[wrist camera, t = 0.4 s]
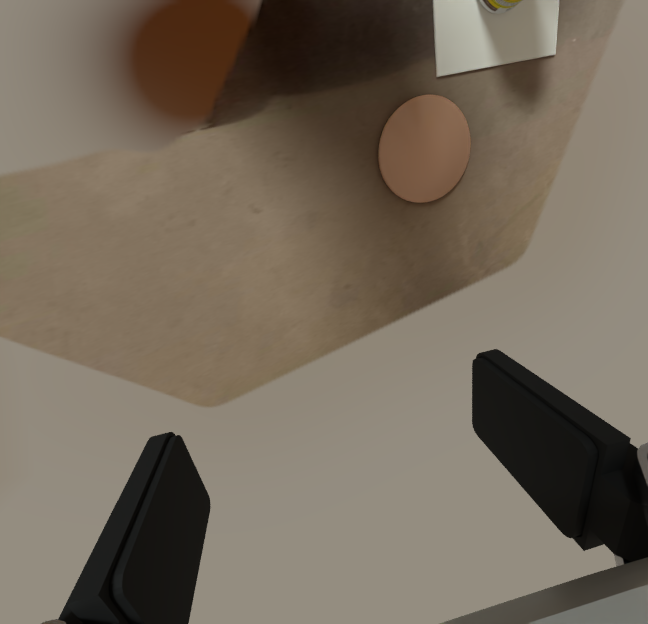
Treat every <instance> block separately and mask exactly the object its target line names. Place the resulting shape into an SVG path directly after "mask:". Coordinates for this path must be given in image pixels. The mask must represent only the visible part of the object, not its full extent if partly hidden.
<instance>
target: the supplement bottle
mask: <svg viewBox="0 0 648 624" xmlns="http://www.w3.org/2000/svg"><path fill="white" fill-rule="evenodd" d="M521 1H523V0H480V2H481V4H482V5H483V6H484V8H485V9H486V10H488V11H489V12H491V13H495V14H500V13H505V12H507V11H509V10H511V9H512V8H514V7H515V6H516V5H517V4H519V3H520V2H521Z"/></svg>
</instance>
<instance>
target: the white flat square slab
mask: <svg viewBox="0 0 648 624" xmlns="http://www.w3.org/2000/svg"><path fill="white" fill-rule="evenodd" d="M558 13H559V0H523V1H521V2H520V3H519V4H517V5H516V6H515V7H514V8H512V9H511V10H509V11H507V12H505V13H500V14H495V13H491V12H489V11H488V10H486V9H485V8H484V6H483V5H482V4H481V2H480V0H433V19H434V40H435V60H436V77H440V76H445V75H451V74H456V73H461V72H467V71H472V70H477V69H483V68H488V67H493V66H499V65H504V64H509V63H515V62H520V61H525V60H531V59H536V58H541V57H547V56H552V55H555V54H556V41H557V27H558Z"/></svg>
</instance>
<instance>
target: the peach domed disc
mask: <svg viewBox="0 0 648 624" xmlns="http://www.w3.org/2000/svg"><path fill="white" fill-rule="evenodd" d="M470 149H471V138H470V131H469V127H468V124H467V121H466V119H465V117H464V115H463V113H462V112H461V110H460V109H459V108H458V107H457V106H456V105H455V104H454V103H453V102H452V101H450V100H448V99H447V98H444V97H442V96H438V95H430V94H428V95H421V96H417V97H415V98H412V99H410V100H409V101H407V102H405V103H404V104H402V105H401V106H400V107H399V108H398V109H396V111H395V112H394V113H393V114H392V115H391V116H390V118H389V119H388V121H387V123H386V124H385V126H384V128H383V131H382V133H381V137H380V140H379V146H378V163H379V168H380V172H381V175H382V177H383V179H384V181H385V183H386V185H387V186H388V187H389V189H390V190H391V191H392V192H393V193H394V194H395V195H397V196H398V197H400V198H402V199H404V200H406V201H410V202H416V203H424V202H430V201H433V200H436V199H438V198H440V197H442V196H444V195H445V194H447V193H448V192H449V191H450V190H451V189H452V188H453V187H454V186H455V185H456V184H457V183H458V181H459V180H460V178H461V177H462V175H463V173H464V171H465V169H466V166H467V163H468V160H469V156H470Z"/></svg>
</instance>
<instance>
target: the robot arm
mask: <svg viewBox="0 0 648 624" xmlns="http://www.w3.org/2000/svg"><path fill="white" fill-rule="evenodd" d="M472 367H473V368H472V372H473V373H472V379H473V380H472V384H473V385H472V424H473V428H474V431H475V433H476V434H477V435H478V437H479V438H480V439H481V440H482V441H483V442H484V444H485V445H486V446H487V447H488V448H489V449H490V451H491V452H492V453H493V454H494V455H495V456H496V457H497V459H498V460H499V461H500V462H501V463H502V464H503V466H505V468H506V469H507V470H508V471H509V472H510V473H511V475H512V476H513V477H514V478H515V479H516V480H517V482H518V483H519V484H520V485H521V486H522V487H523V488H524V490H525V491H526V492H527V493H528V494H529V495H530V497H531V498H532V499H533V500H534V501H535V502H536V504H537V505H538V506H539V507H540V508H541V509H542V510H543V512H544V513H545V514H546V515H547V516H548V517H549V519H550V520H551V521H552V522H553V523H554V524H555V525H556V526H557V528H558V529H559V530H560V531H561V532H562V533H563V534H564V535H565V536H567V537H569V538H573V539H574V540H575V541H576V542H577V543H578V545H579V546H580V547H581V548H582V549H583V550H584V551H585V550H588V549H591V548H594V547H597V546H600V545H603V544H605V545H606V546H607V547H608V548H609V549H610V550H611V551H612V552H613V553H614V556H615V561H616V566H617V567H614V568H610V569H607V570H604V571H600V572H597V573H594V574H591V575H587V576H584V577H581V578H578V579H575V580H572V581H569V582H566V583H562V584H560V585H556V586H553V587H550V588H547V589H544V590H541V591H538V592H535V593H532V594H529V595H526V596H523V597H519V598H517V599H514V600H510V601H507V602H504V603H501V604H498V605H495V606H492V607H489V608H486V609H483V610H480V611H477V612H474V613H471V614H468V615H464V616H461V617H458V618H455V619H452V620H449V621H446V622H444V623H440V624H648V443H646V444H643V445H641V446H640V448H639V449H638V448H636V447H635V446H633V445H632V444H630V438H629V437H628V436H626V435H625V434H623V433H622V432H620V431H619V430H617V429H616V428H614V427H613V426H611V425H610V424H608V423H607V422H605V421H604V420H602V419H601V418H599V417H598V416H596V415H595V414H593V413H592V412H590V411H589V410H587V409H586V408H584V407H583V406H581V405H580V404H578V403H577V402H575V401H574V400H572V399H571V398H570V397H568V396H567V395H565V394H563V393H562V392H561V391H559V390H558V389H556V388H555V387H553V386H552V385H550V384H549V383H547V382H546V381H544V380H543V379H541V378H539V377H538V376H537V375H535V374H534V373H532V372H531V371H529V370H528V369H526V368H525V367H523V366H522V365H520V364H519V363H517V362H516V361H514V360H513V359H511V358H510V357H508V356H507V355H505V354H504V353H503V352H501V351H499V350H497V349H494V350H490V351H486V352H482V353H479V354H478V355H477V357H476V359H474V360H473V366H472ZM209 513H210V498H209V495H208V493H207V491H206V489H205V487H204V484H203V482H202V480H201V478H200V476H199V474H198V471H197V469H196V467H195V465H194V463H193V461H192V459H191V456H190V454H189V452H188V450H187V448H186V445H185V443H184V441H183V439H182V437H181V436H180V435H177V436H175V434H174V433H173V432H169V433H165V434H161V435H157V436H153V437H151V438H150V439H149V440H148V442H147V444H146V446H145V448H144V450H143V452H142V454H141V456H140V458H139V460H138V462H137V464H136V466H135V468H134V470H133V472H132V474H131V476H130V478H129V480H128V482H127V484H126V486H125V488H124V490H123V492H122V494H121V496H120V498H119V500H118V501H117V503H116V505H115V507H114V509H113V511H112V513H111V515H110V517H109V519H108V521H107V523H106V525H105V527H104V529H103V531H102V533H101V535H100V537H99V539H98V541H97V543H96V545H95V547H94V549H93V551H92V553H91V555H90V557H89V559H88V561H87V563H86V565H85V567H84V569H83V571H82V573H81V575H80V577H79V579H78V581H77V583H76V585H75V587H74V589H73V591H72V593H71V595H70V597H69V599H68V601H67V603H66V605H65V607H64V609H63V611H62V613H61V615H60V617H59V619H56V620H51V621H46V622H43V623H41V624H188V623H189V617H190V612H191V606H192V602H193V596H194V591H195V586H196V581H197V575H198V570H199V565H200V560H201V554H202V549H203V544H204V539H205V534H206V528H207V523H208V518H209Z"/></svg>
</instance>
